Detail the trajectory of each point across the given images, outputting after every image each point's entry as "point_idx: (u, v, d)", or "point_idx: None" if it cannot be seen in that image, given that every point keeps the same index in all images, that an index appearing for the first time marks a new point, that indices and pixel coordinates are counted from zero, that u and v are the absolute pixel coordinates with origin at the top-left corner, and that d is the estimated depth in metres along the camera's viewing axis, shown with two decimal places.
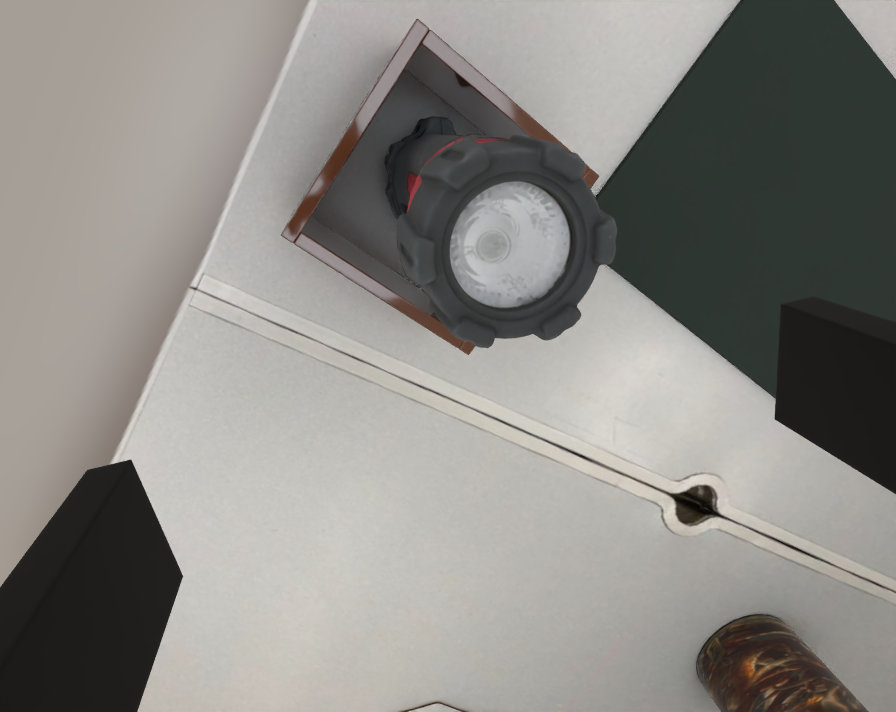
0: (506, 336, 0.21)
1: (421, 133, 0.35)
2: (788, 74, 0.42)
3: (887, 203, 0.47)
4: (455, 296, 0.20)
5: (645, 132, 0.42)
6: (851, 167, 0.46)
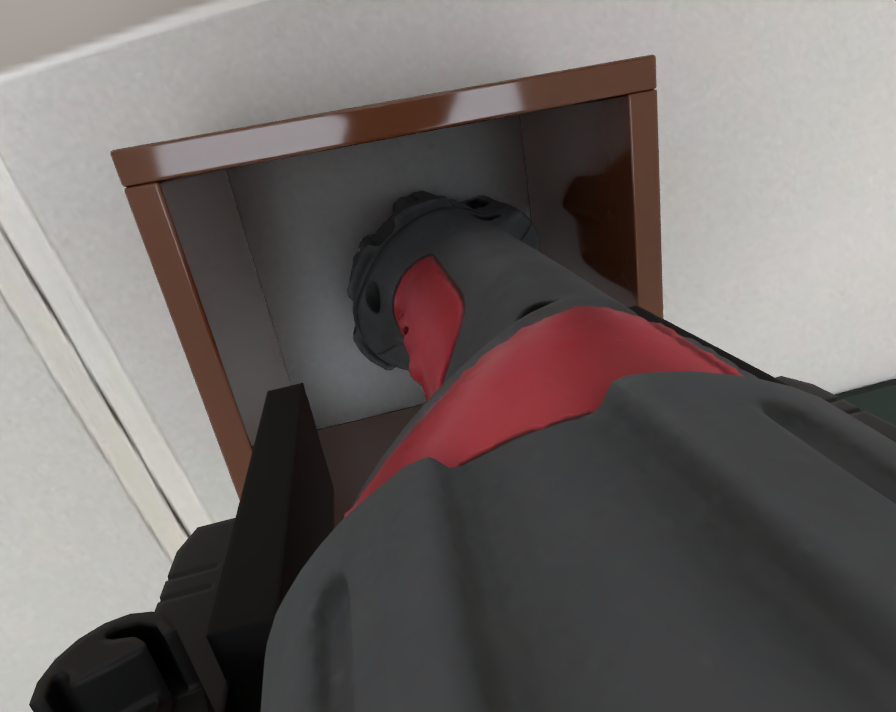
0: None
1: (485, 216, 0.19)
2: None
3: None
4: None
5: None
6: None
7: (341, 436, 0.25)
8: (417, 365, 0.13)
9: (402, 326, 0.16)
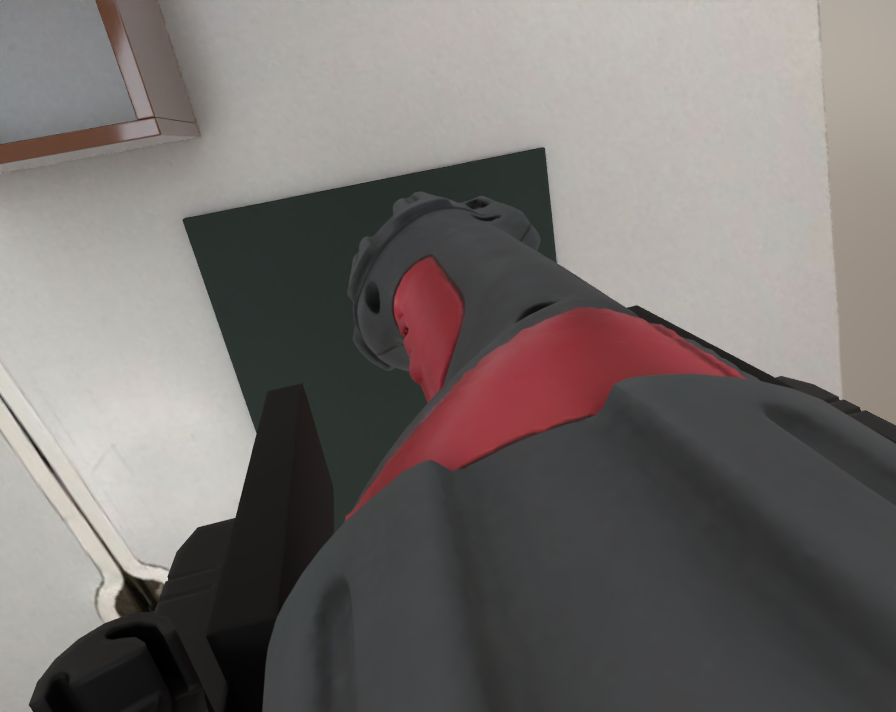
0: None
1: (485, 217, 0.19)
2: None
3: None
4: None
5: (323, 191, 0.37)
6: None
7: None
8: (417, 366, 0.13)
9: (402, 327, 0.16)
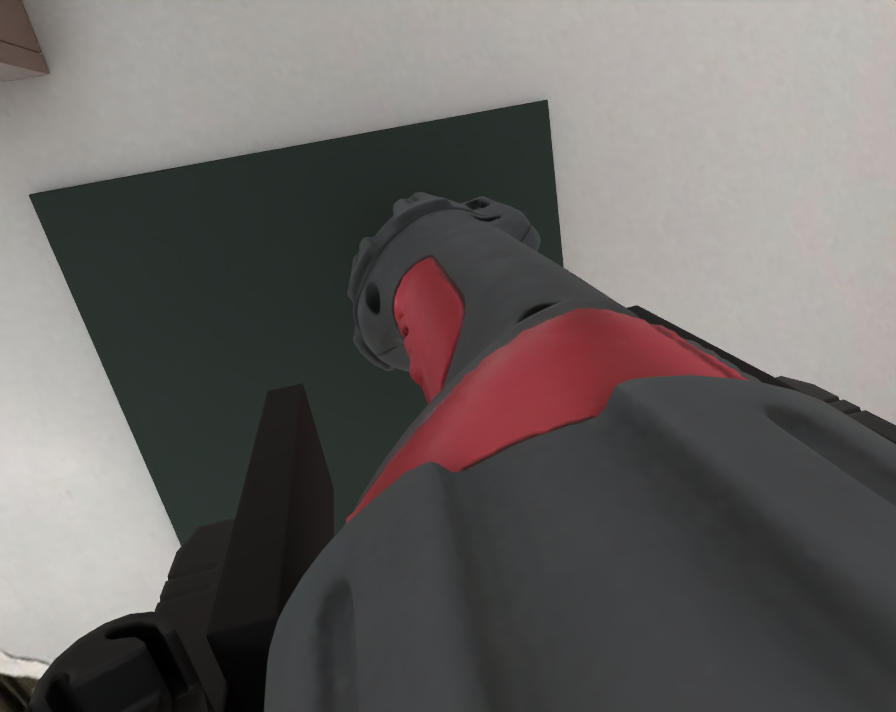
0: None
1: (485, 217, 0.19)
2: None
3: None
4: None
5: None
6: None
7: None
8: (417, 367, 0.13)
9: (402, 327, 0.16)
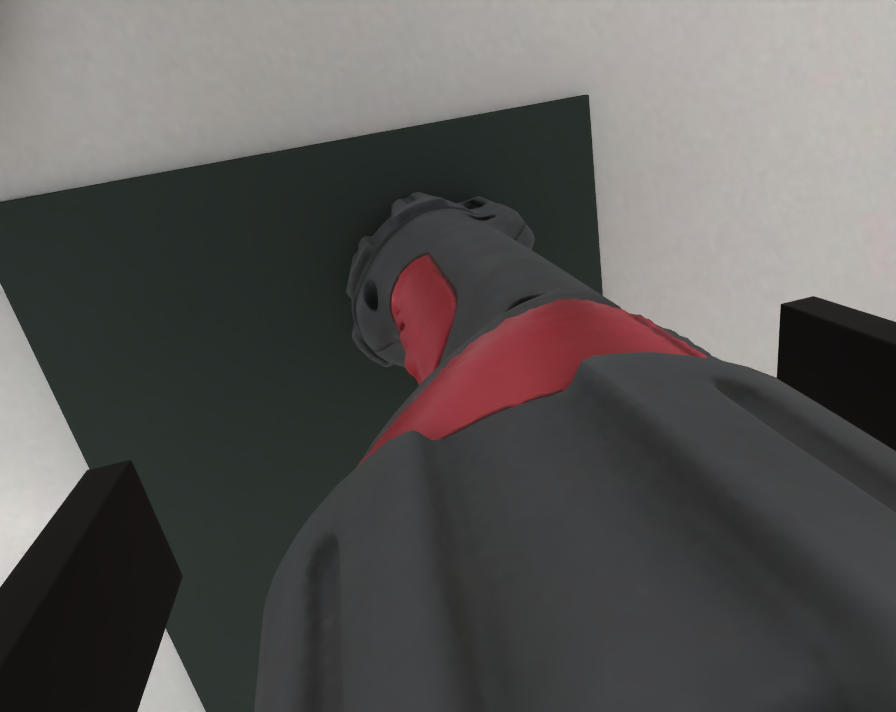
0: None
1: (481, 216, 0.20)
2: None
3: None
4: None
5: (216, 162, 0.22)
6: None
7: None
8: (412, 359, 0.13)
9: (399, 323, 0.17)
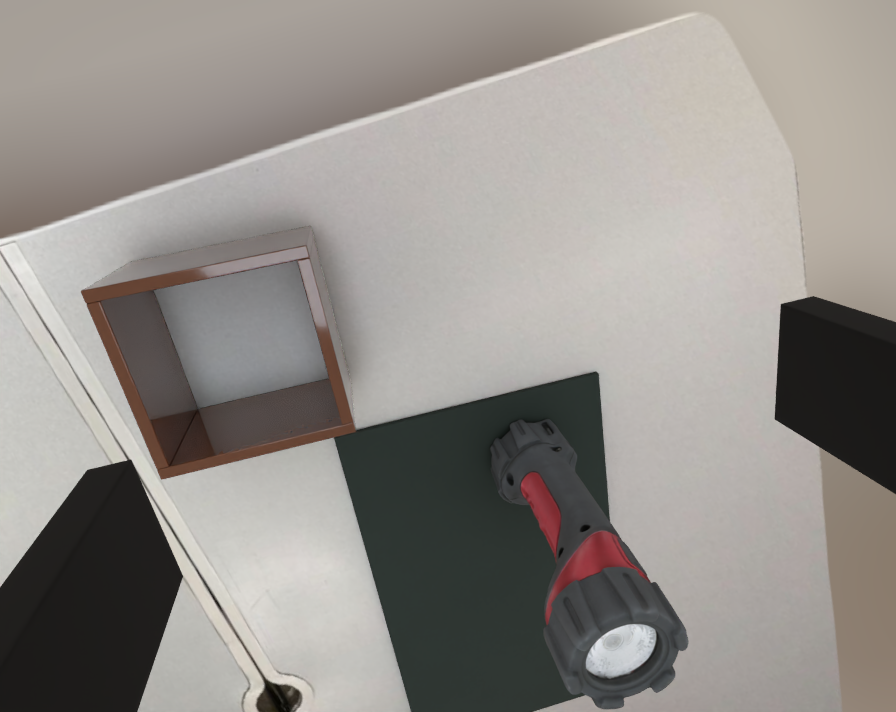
0: (582, 692, 0.32)
1: (555, 446, 0.47)
2: None
3: None
4: (582, 660, 0.31)
5: (435, 412, 0.50)
6: None
7: (215, 410, 0.45)
8: (543, 526, 0.41)
9: (529, 501, 0.44)
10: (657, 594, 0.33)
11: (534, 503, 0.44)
